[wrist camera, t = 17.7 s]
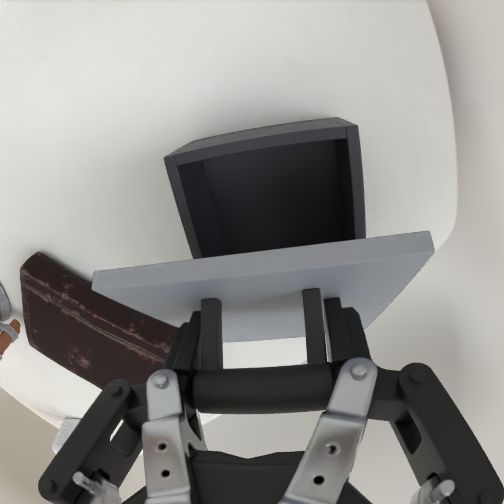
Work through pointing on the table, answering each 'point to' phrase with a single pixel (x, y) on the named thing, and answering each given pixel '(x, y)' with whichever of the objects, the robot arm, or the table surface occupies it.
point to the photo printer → (64, 433)
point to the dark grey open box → (270, 188)
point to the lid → (270, 310)
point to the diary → (89, 327)
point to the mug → (8, 332)
